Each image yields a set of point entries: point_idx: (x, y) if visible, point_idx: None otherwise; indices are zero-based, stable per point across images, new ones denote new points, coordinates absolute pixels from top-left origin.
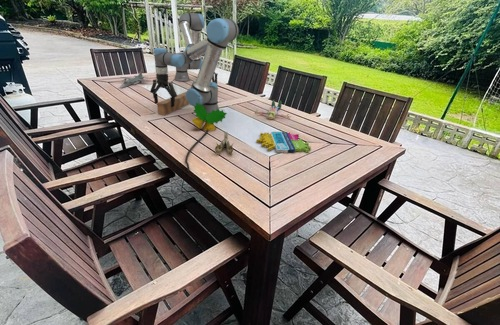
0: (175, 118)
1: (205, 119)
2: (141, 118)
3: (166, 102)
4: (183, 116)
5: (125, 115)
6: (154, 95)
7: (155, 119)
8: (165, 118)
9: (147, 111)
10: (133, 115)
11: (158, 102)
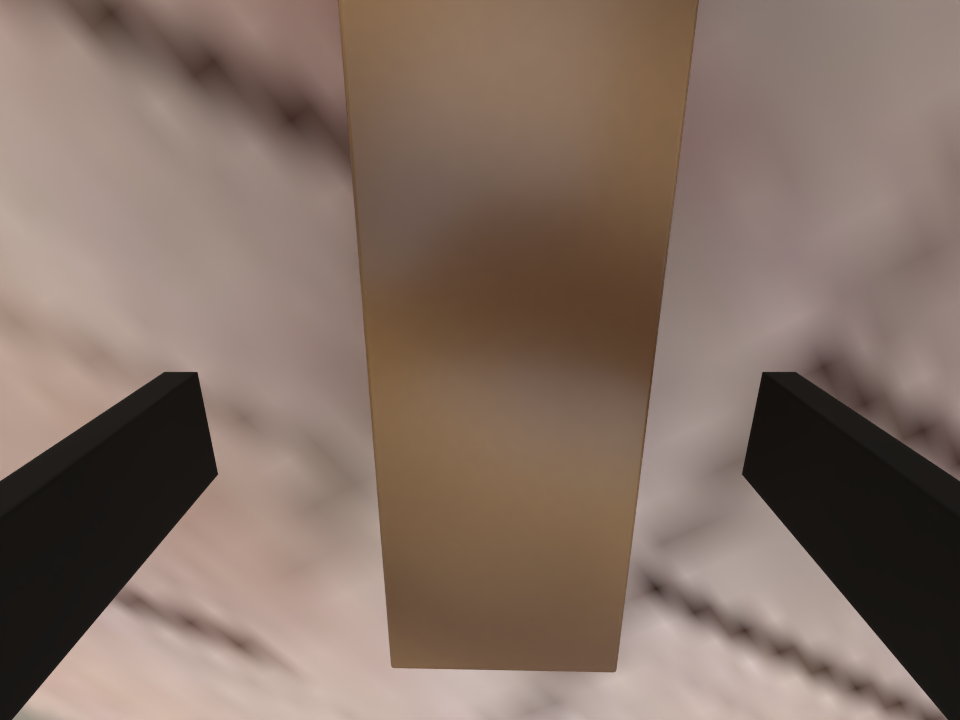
0: None
1: None
2: (353, 709)
3: (601, 517)
4: (939, 362)
5: (84, 713)
6: (14, 689)
7: None
8: (665, 579)
9: None
10: (165, 674)
11: (390, 619)
